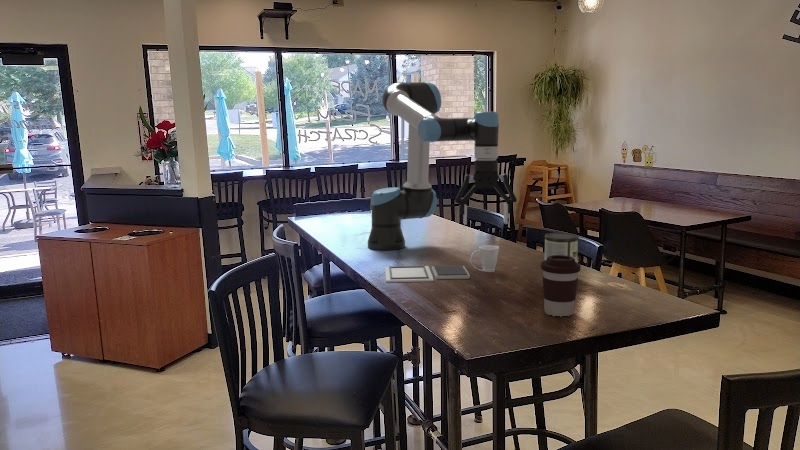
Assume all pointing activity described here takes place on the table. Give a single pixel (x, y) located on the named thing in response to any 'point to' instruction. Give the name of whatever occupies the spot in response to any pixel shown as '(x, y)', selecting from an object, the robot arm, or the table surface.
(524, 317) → the table surface
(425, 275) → the board
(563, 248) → the coffee can
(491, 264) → the cup
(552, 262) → the coffee cup
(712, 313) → the table surface
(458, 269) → the ink pad
